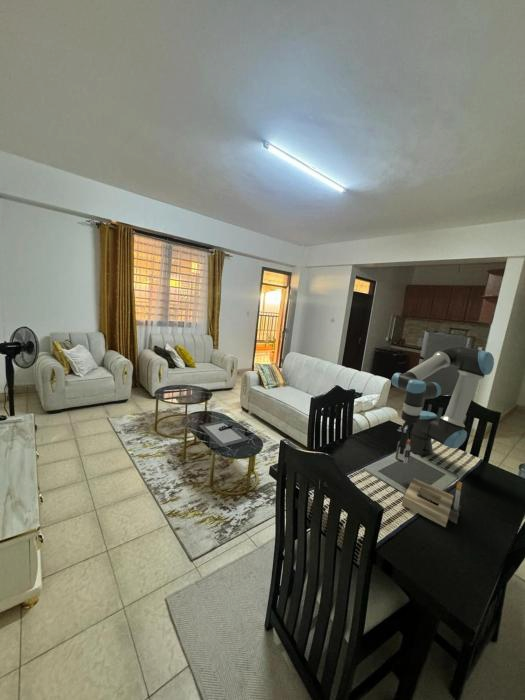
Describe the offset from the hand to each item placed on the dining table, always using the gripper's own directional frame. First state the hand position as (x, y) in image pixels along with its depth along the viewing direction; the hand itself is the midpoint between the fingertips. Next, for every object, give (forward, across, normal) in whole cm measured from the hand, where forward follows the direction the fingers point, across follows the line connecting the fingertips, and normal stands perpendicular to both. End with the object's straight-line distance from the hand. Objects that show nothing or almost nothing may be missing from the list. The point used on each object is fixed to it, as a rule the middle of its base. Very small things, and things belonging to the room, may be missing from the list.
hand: (402, 456), depth 136 cm
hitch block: (+11, +12, +16) cm, 23 cm away
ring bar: (+8, +12, +24) cm, 28 cm away
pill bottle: (+2, 0, 0) cm, 2 cm away
